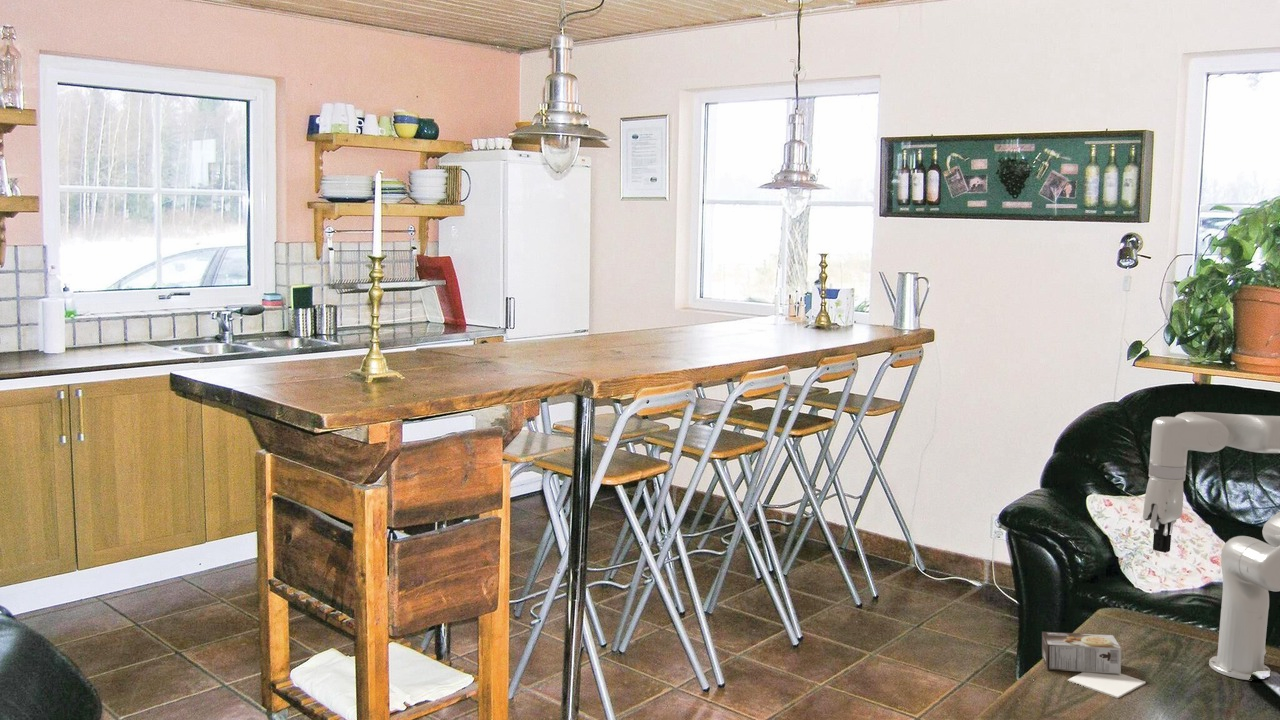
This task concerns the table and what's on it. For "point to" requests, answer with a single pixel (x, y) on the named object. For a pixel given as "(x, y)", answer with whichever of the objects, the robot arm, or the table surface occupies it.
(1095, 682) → the mat
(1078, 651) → the coffee box
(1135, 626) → the table surface
